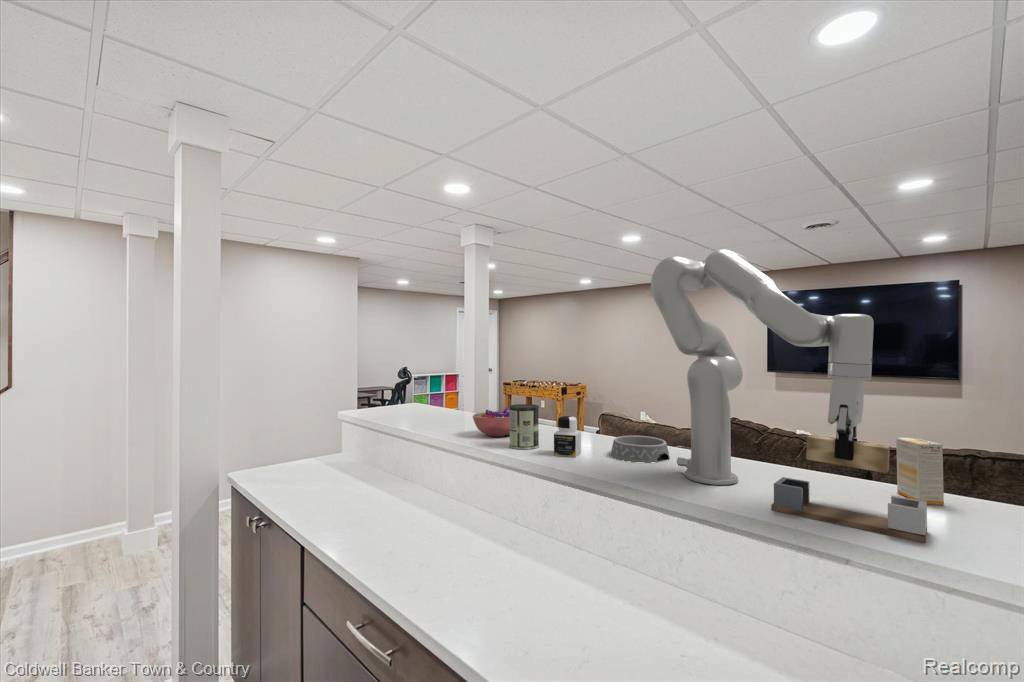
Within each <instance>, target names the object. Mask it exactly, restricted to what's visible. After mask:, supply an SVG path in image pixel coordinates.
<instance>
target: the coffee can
mask: <svg viewBox="0 0 1024 682" xmlns="http://www.w3.org/2000/svg"><path fill="white" fill-rule="evenodd" d="M508 407H509V408H510V435H509V448H511V449H513V450H514V449H515V450H521V449H522V450H523V451H524V450H525V451H527V450H534V449H538V448H539V446H540V445H539V442H540V441H539V436H540V435H539V419H540V418H539V408H540V406H539V405H537V404H531V403H530V404H529V403H528V404H525V403H523V404H511V405H509V406H508Z"/></svg>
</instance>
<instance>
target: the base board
mask: <svg viewBox="0 0 1024 682" xmlns="http://www.w3.org/2000/svg"><path fill="white" fill-rule="evenodd" d="M770 509H771V511H774V512H775V511H776V512H780V513H784V514H790V515H794V516H799V517H803V518H806V519H807V518H808V519H812V520H817V521H822V522H826V523H831V524H835V525H840V526H845V527H850V528H855V529H858V530H859V529H860V530H863V531H868V532H873V533H878V534H882V535H888V536H891V537H892V536H893V537H896V538H900V539H905V540H911V541H915V542H918V543H924V544H926V541H927V536H928V527H927V528H926V534H925V535H921V534H916V533H911V532H907V531H902V530H897V529H892V528H888V517H882V516H879V515H878V516H877V515H872V514H868V513H863V512H858V511H852V510H848V509H842V508H838V507H831V506H827V505H823V504H816V503H813V502H810V503H809V504H806V503H803V510H802V511H798V510H793V509H789V508H784V507H779V506H774V502H773V503H772V504H771V505H770Z"/></svg>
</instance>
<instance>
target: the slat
mask: <svg viewBox="0 0 1024 682" xmlns="http://www.w3.org/2000/svg"><path fill="white" fill-rule="evenodd" d="M835 439H836V437H829V436H822V435H815V434H809V435H807V436H806V452H805V453H806V454H805V455H806V458H805V459H806V460H809V461H815V462H820V463H826V464H831V465H836V466H837V465H838V466H842V467H849V468H854V469H860V470H866V471H872V472H878V473H883V474H888V473H889V471H890V454H891V453H890V452H891V449H890V448H891V446H890V445H887V444H879V443H873V442H871V443H870V442H864V441H860V440H859V441H858V440H857V441H854V455H853V460H852V461H850V460H844V459H839V458H835V456H834V454H835Z"/></svg>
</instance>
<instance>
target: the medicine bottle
mask: <svg viewBox="0 0 1024 682" xmlns="http://www.w3.org/2000/svg"><path fill="white" fill-rule="evenodd" d="M557 429H558V430H557V431H556V432H554V434H553V455H554V456H555V455H557V457H566V458H567V457H568V458H569V457H570V458H576V457H578V456H579V455H580V454H581V453H582V449H581V448H582V446H581V445H582V443H581V442H582V441H581V440H582V437H581V436H582V433H581V431H580V430H578V419H577V418H576V417H575V416H571V415H569V416H568V415H563V416H560V417H558V418H557Z"/></svg>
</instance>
